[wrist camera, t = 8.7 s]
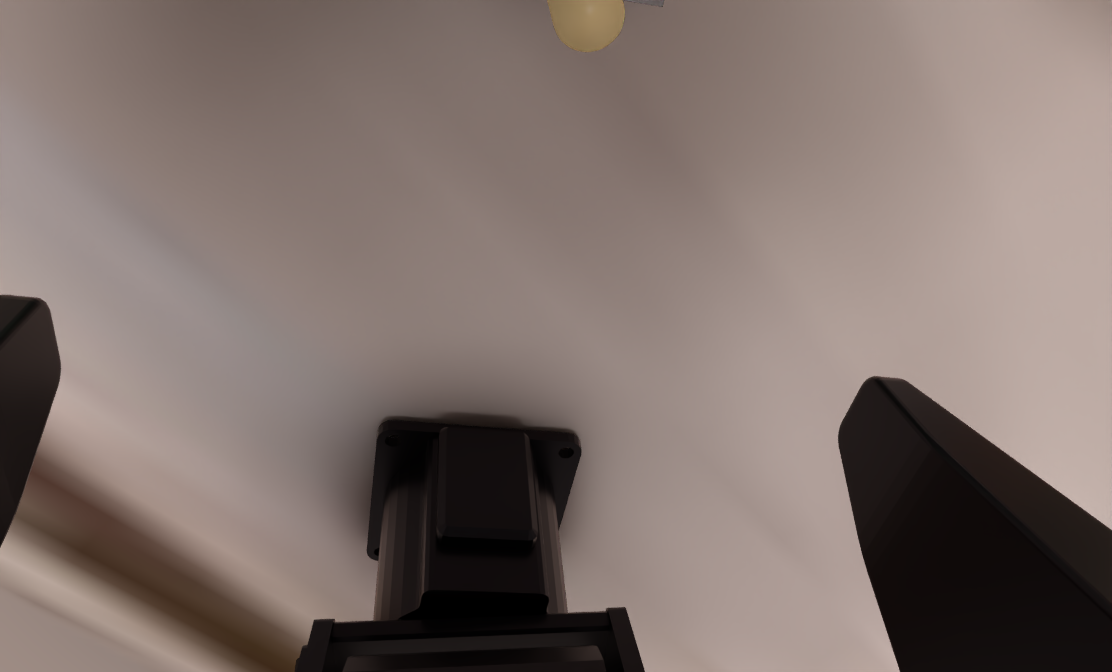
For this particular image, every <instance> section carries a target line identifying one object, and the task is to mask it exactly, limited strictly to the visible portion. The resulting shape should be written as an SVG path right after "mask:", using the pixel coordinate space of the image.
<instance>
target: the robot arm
mask: <svg viewBox="0 0 1112 672" xmlns="http://www.w3.org/2000/svg"><path fill="white" fill-rule="evenodd" d="M60 375H61V361H60V356H59V351H58V346H57V341H56V336H55V331H54V327H53V322H52V317H51V312H50V309H49V307H48V305H47V303H46V302H45V301H43V300H42V299H40V298H35V297H25V296H14V295H0V547H1V545H2V543H3V541H4V539H5V536H6V534H7V532H8V530H9V528H10V525H11V523H12V521H13V518H14V516H15V514H16V512H17V509H18V506H19V503H20V500H21V498H22V495H23V492H24V489H25V486H26V483H27V480H28V477H29V474H30V471H31V468H32V465H33V461H34V458H35V455H36V452H37V449H38V446H39V443H40V440H41V437H42V434H43V431H44V428H45V425H46V422H47V419H48V416H49V413H50V409H51V406H52V403H53V400H54V397H55V394H56V391H57V388H58V385H59V381H60ZM389 435H396V436H399V437H394V438H393V437H389ZM838 443H839V449H840V454H841V459H842V464H843V468H844V473H845V478H846V483H847V487H848V492H849V497H850V502H851V506H852V511H853V516H854V521H855V525H856V530H857V535H858V539H859V543H860V547H861V551H862V555H863V559H864V562H865V565H866V569H867V572H868V575H869V578H870V581H871V584H872V588H873V591H874V594H875V597H876V600H877V603H878V606H879V609H880V612H881V615H882V618H883V621H884V624H885V627H886V630H887V633H888V636H889V639H890V642H891V645H892V648H893V652H894V655H895V658H896V661H897V664H898V667H899V670H900V672H1112V530H1111V529H1110V528H1108V527H1107V526H1105V525H1104V524H1103V523H1101V522H1100V521H1099V520H1097V519H1096V518H1094V517H1093V516H1092V515H1090V514H1089V513H1088V512H1086V511H1085V510H1083V509H1082V508H1081V507H1079V506H1078V505H1077V504H1075V503H1074V502H1072V501H1071V500H1070V499H1068V498H1067V497H1065V496H1064V495H1063V494H1061V493H1060V492H1059V491H1057V490H1056V489H1054V488H1053V487H1052V486H1050V485H1049V484H1048V483H1046V482H1045V481H1043V480H1042V479H1041V478H1039V477H1038V476H1037V475H1035V474H1034V473H1032V472H1031V471H1030V470H1028V469H1027V468H1026V467H1024V466H1023V465H1021V464H1020V463H1019V462H1017V461H1016V460H1015V459H1013V458H1012V457H1010V456H1009V455H1008V454H1006V453H1005V452H1004V451H1002V450H1001V449H999V448H998V447H997V446H995V445H994V444H993V443H991V442H990V441H988V440H987V439H986V438H984V437H983V436H982V435H980V434H979V433H977V432H976V431H975V430H973V429H972V428H971V427H969V426H968V425H966V424H965V423H964V422H962V421H961V420H960V419H958V418H957V417H955V416H954V415H953V414H951V413H950V412H949V411H947V410H946V409H944V408H943V407H942V406H940V405H939V404H938V403H936V402H935V401H933V400H932V399H931V398H929V397H928V396H926V395H925V394H924V393H922V392H921V391H920V390H918V389H917V388H915V387H914V386H913V385H911V384H910V383H909V382H907V381H905V380H903V379H900V378H890V377H879V376H874V377H870V378H868V379H867V380H866V381H865V382H864V383H863V384H862V386H861V388H860V389H859V391H858V393H857V395H856V397H855V399H854V401H853V402H852V404H851V406H850V408H849V410H848V412H847V413H846V415H845V417H844V419H843V421H842V423H841V425H840V429H839V434H838ZM565 447H569V448H568V449H562V448H565ZM580 457H581V444H580V440H579V438H578V437H577V436H575V435H574V434H570V433H561V432H548V431H534V430H521V429H507V428H493V427H480V426H466V425H453V424H439V423H426V422H412V421H399V420H391V421H387V422H384V423H382V424H381V425H380V426H379V428H378V433H377V443H376V454H375V465H374V476H373V487H372V498H371V510H370V521H369V532H368V543H367V555H368V556H369V557H370V558H372V559H374V560H377V561H378V573H377V584H376V596H375V607H374V619H373V621H352V622H335V619H319V620H314V622H313V626H312V630H311V634H310V638H309V642H308V645H304V646H303V647H302V650H301V654H300V658H298V659H297V660H296V666H295V672H645V670H644V667H643V664H642V660H641V657H640V654H639V650H638V647H637V644H636V640H635V637H634V634H633V630H632V627H631V624H630V620H629V617H628V614H627V611H626V608H625V607H619V608H606V611H599V612H574V613H568V610H567V601H566V592H565V584H564V575H563V566H562V558H561V549H560V540H559V532H558V531H559V527H560V524H561V521H562V517H563V514H564V511H565V507H566V504H567V500H568V497H569V494H570V490H571V487H572V484H573V480H574V477H575V473H576V470H577V467H578V463H579V460H580Z"/></svg>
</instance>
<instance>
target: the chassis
mask: <svg viewBox="0 0 1112 672" xmlns="http://www.w3.org/2000/svg"><path fill="white" fill-rule="evenodd" d="M624 1H630V2H636V3H641V4H647V5H653V6H659V7H663V3H664V0H624ZM547 2H548V6H549V10H550V13H551V17H552V21H553V25H554V29H555V31H556V34H557V35H558V37H559V38H560V40H561V41H562V42H563V43H564V44H565V45H567V46H568V47H570V48H572V49H574V50H576V51H581V52H593V51H597V50H600V49H602V48H604V47H606V46H608V45H609V44H610V43H612V42H613V41H614V40H615V38H616V37H617V36H618V34H619V33H620V31H621V29H622V26H623V23H624V18H625V8H624V3H623V0H547Z"/></svg>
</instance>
